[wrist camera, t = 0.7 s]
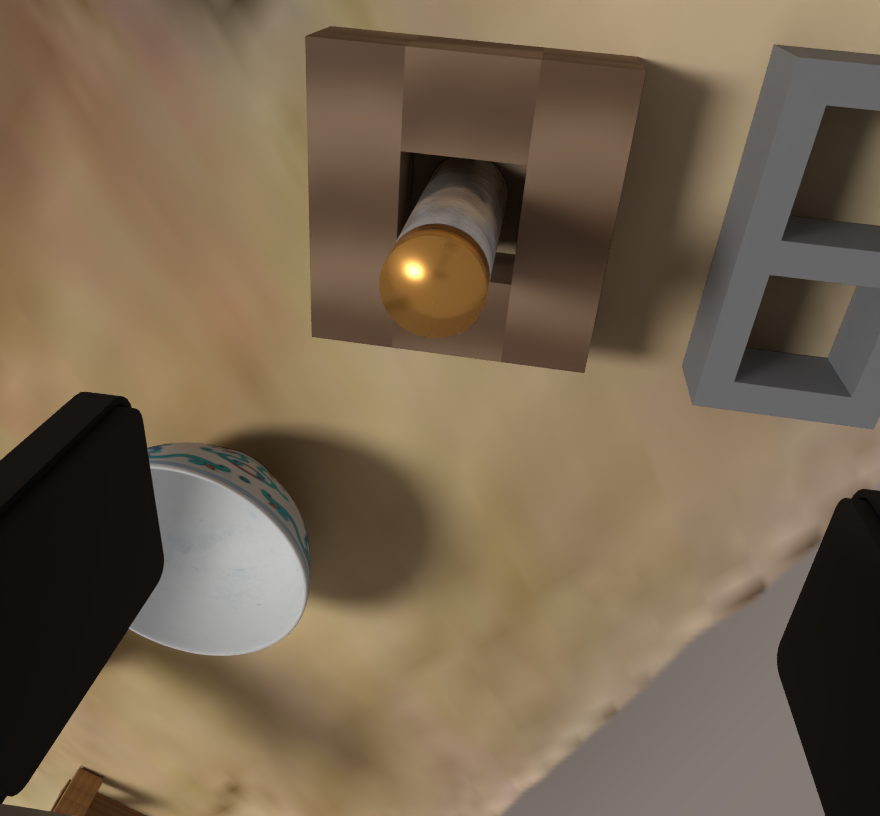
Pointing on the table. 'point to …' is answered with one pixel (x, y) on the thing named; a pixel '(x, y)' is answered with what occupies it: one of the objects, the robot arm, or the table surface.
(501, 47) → the socket block
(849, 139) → the table surface
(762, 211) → the gray cinder block
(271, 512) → the chinaware
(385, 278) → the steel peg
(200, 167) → the table surface
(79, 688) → the robot arm
